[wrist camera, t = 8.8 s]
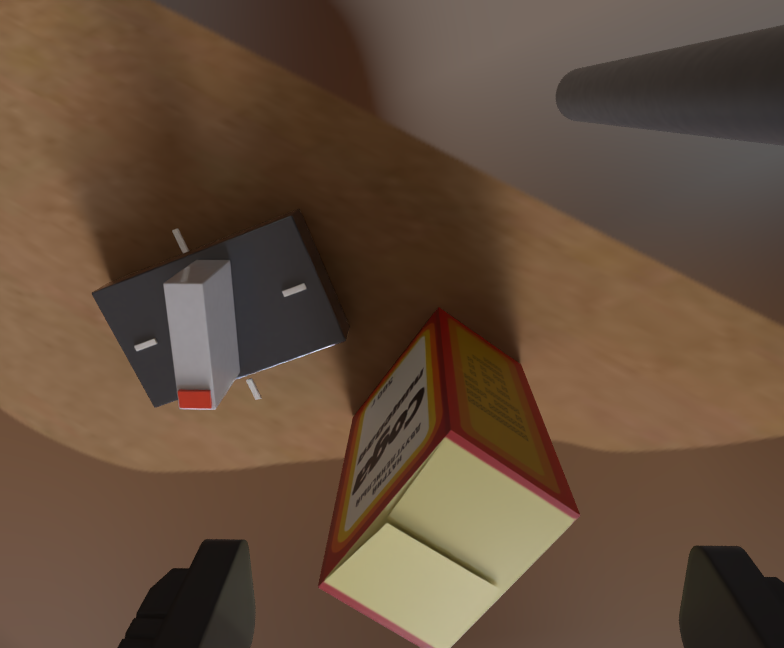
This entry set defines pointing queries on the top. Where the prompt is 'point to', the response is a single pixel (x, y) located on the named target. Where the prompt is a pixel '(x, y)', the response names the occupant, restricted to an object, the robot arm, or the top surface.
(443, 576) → the baking soda box
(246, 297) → the rotary selector switch
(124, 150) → the top surface
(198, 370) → the white rectangular block
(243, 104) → the top surface
